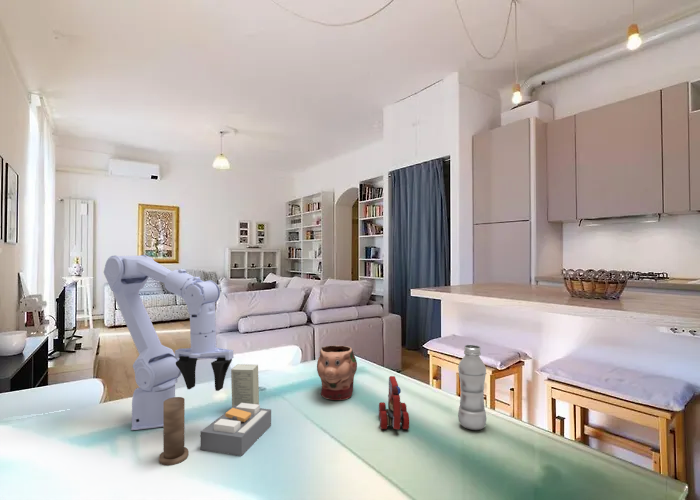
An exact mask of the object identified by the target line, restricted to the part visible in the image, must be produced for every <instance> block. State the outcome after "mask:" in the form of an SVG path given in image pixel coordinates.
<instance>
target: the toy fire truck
mask: <svg viewBox="0 0 700 500" xmlns="http://www.w3.org/2000/svg"><path fill="white" fill-rule="evenodd" d="M401 392H402V391H401V388H400V386H399V384H398V381H397V379H396V376H395V375H394V376H393V375H391V376H389V377H388V394H387V399H388V401H387V402H388V403H387V407H388V408H387V407H386V402H384V401H383V402H378V417H379V418H378V419H379V426H380V427H379V428H380V430H387V429H388V427H391V426H392V427H393V430H400V429H402V430H409V428H410V414H409V411H407V404H406V403H405V402H401V395H400V394H401Z"/></svg>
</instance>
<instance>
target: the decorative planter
mask: <svg viewBox="0 0 700 500" xmlns="http://www.w3.org/2000/svg"><path fill="white" fill-rule="evenodd" d="M357 370H358V361H357V358H356V355H355V354H354V350H353V349H352V347H350V346H347V345H335V344H334V345H326V346H322V347H321V348H320V350H319V357H318V359H317V362H316V372H317V374H318V376H319V378H320V380H321V391H320V395H321V397H323V398H324V399H327V400H330V401H331V400H332V401H333V400H334V401H343V400H348V399H349V398H351V397H352V395H353V391H354V379H355V375H356V373H357Z"/></svg>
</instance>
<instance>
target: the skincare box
mask: <svg viewBox="0 0 700 500" xmlns="http://www.w3.org/2000/svg"><path fill="white" fill-rule="evenodd" d="M230 374H231V375H230V376H231V378H230V379H231V380H230V381H231V408H232V407H234V406H235V405H239V404H241V403H249V404H257V405H260V391H259V388H260V387H259V386H260V385H259V383H260V382H259V364H248V363H247V364H245V363H244V364H243V363H242V364H239V363H238V364H236V365H234V366H233V367H232V368H231V369H230Z"/></svg>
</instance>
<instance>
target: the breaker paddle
mask: <svg viewBox="0 0 700 500" xmlns="http://www.w3.org/2000/svg"><path fill="white" fill-rule="evenodd" d="M231 408H232V407H231ZM231 408H229V409H228V410H229V411H228V410H227V411H228V412H227V411H226V412H225V413H226V414H225V417H229V418H232V420H234V421H238V420H239V421H242V422H245V421H246V420H247V419H248V418H250V417H251V413H250V412H246V411H243V410H239V409H235V408H232V409H231Z"/></svg>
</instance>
